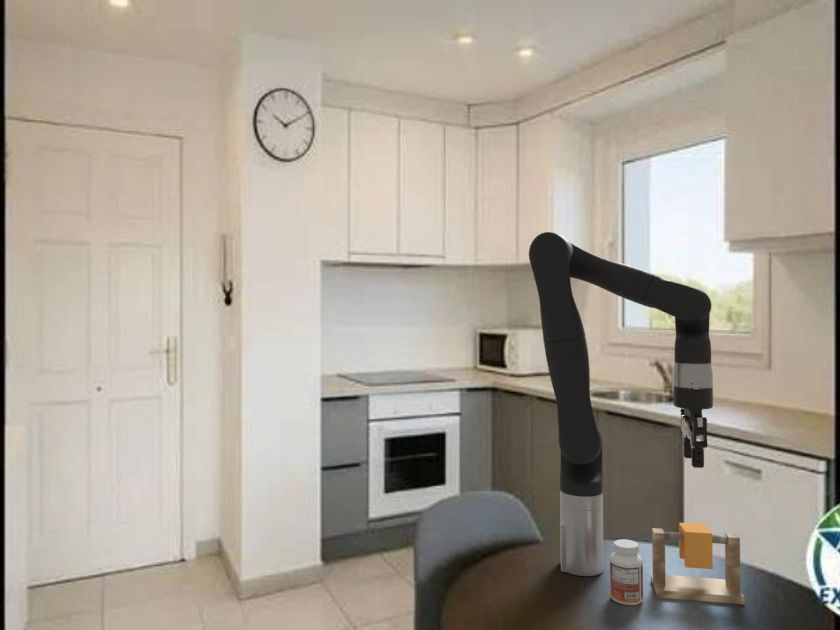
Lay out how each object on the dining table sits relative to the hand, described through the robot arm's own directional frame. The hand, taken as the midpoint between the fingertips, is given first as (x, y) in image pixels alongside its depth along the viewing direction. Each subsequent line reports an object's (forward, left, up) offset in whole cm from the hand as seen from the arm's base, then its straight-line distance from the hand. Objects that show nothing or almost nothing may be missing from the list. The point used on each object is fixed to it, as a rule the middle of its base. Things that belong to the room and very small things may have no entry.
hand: (693, 462), depth 129 cm
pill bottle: (-15, -9, -26) cm, 31 cm away
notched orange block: (0, -3, -20) cm, 20 cm away
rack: (-1, -3, -26) cm, 26 cm away
